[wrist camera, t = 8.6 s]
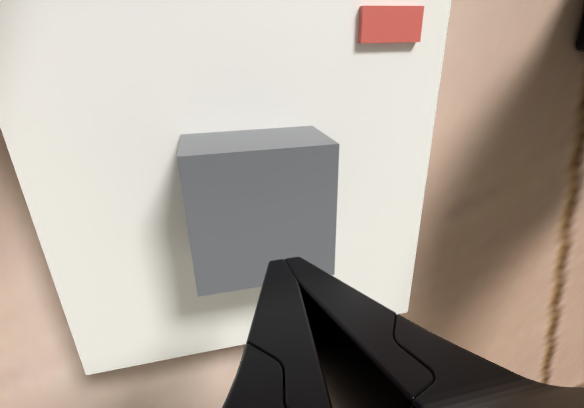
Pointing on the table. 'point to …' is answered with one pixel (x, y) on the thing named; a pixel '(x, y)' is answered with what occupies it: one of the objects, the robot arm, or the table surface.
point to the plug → (257, 202)
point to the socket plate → (203, 119)
